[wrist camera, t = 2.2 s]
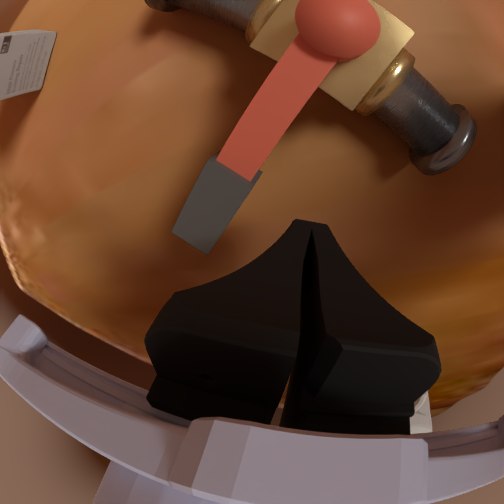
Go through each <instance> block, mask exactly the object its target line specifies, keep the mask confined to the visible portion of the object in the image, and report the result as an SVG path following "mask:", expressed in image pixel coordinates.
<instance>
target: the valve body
mask: <svg viewBox="0 0 504 504" xmlns="http://www.w3.org/2000/svg"><path fill="white" fill-rule="evenodd" d="M299 1H300V0H260V1H259V3H258V4H257V6H256V7H255V9H254V11H253V13H252V15H251V17H250V19H249V21H248V24H247V27H246V32H245V39H246V41H247V42H248V43H250V44H251V45H250V46H249V47H251V48H253V49H255V50H257V51H258V52H260V53H262V54H263V55H265V56H267V57H269V58H270V59H272V60H274V61H276V62H278V61H279V60H280V58H281V57H282V56H283V54H284V53H285V51H286V50H287V49H288V47H289V46H290V45H291V43H292V42H293V41H294V39H295V38H296V37H297V35H298V34H299V31H298V28H297V25H296V21H295V10H296V7H297V4H298V2H299ZM367 1H368V2H369V3H370V4H371V5H372V6H373V7H374V9H375V10H376V12H377V14H378V17H379V20H380V25H381V30H380V35H379V38H378V40H377V42H376V43H375V45H374V46H373V47H372V48H371V49H369V50H368V51H367V52H365V53H364V54H362V55H361V56H360V57H358V58H356V59H354V60H351V61H347V62H336V64H335V65H334V66H333V68H332V69H331V70H330V71H329V73H328V74H327V75H326V77H325V78H324V79H323V81H322V82H321V83H320V85H319V86H318V88H319V89H321V90H322V91H324V92H325V93H327V94H328V95H329V96H331V97H332V98H334V99H335V100H336V101H338V102H339V103H340V104H342V105H343V106H345V107H346V108H348V109H349V110H351V111H353V109H355V110H356V111H357V112H358V113H360V114H361V115H362V116H368V115H370V114H371V113H373V112H374V111H376V110H377V109H378V108H379V107H380V106H382V105H383V104H384V103H385V102H386V101H387V100H388V99H389V98H390V97H391V96H392V95H393V94H394V92H395V91H396V90H397V89H398V88H399V87H400V85H401V84H402V83H403V81H404V80H405V79H406V77H407V76H408V74H409V73H410V71H411V69H412V67H413V65H414V63H415V57H414V56H413V55H412V54H410V53H409V52H408V51H407V50H406V49H405V48H403V47H404V46H405V44H406V43H407V42H408V41H409V39H410V38H411V37H412V36H413V34H414V33H415V32H413V31H412V30H411V29H410V28H409V27H407V26H406V25H405V24H404V23H403V22H401V21H400V20H399V19H397V18H396V17H395V16H393V15H392V14H391V13H389V12H388V11H387V10H385V9H384V8H382V7H381V6H380V5H378V4H377V3H375V2H374V1H372V0H367Z"/></svg>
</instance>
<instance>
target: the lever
mask: <svg viewBox="0 0 504 504" xmlns="http://www.w3.org/2000/svg"><path fill="white" fill-rule="evenodd" d="M295 21H296V25H297V28H298V31H299V34H298V35H297V37H296V38H295V39H294V41H293V42H292V43H291V45H290V46H289V47H288V49H287V50H286V51H285V53H284V54H283V56H282V57H281V58H280V60H279V61H278V63H277V64H276V65H275V67H274V68H273V70H272V71H271V73H270V74H269V75H268V77H267V78H266V80H265V81H264V83H263V84H262V86H261V87H260V89H259V90H258V92H257V93H256V95H255V96H254V98H253V99H252V101H251V103H250V104H249V106H248V107H247V109H246V110H245V112H244V114H243V115H242V117H241V118H240V120H239V122H238V123H237V125H236V126H235V128H234V130H233V131H232V133H231V135H230V136H229V138H228V140H227V141H226V143H225V145H224V147H223V148H222V150H221V151H219V152H218V153H217V154H215V155H214V156H212V157H211V158H210V159H208V161H207V162H206V164H205V166H204V168H203V170H202V172H201V173H200V175H199V177H198V179H197V181H196V183H195V185H194V187H193V189H192V191H191V193H190V195H189V196H188V198H187V200H186V202H185V204H184V206H183V208H182V210H181V213H180V215H179V217H178V219H177V221H176V223H175V225H174V227H173V229H172V231H171V232H172V233H173V234H175V235H176V236H178V237H179V238H181V239H182V240H184V241H186V242H187V243H189V244H190V245H192V246H193V247H195V248H196V249H198V250H200V251H201V252H203V253H204V254H206V255H207V256H208V254H209V253H210V251H211V250H212V248H213V247H214V245H215V244H216V242H217V241H218V239H219V237H220V236H221V234H222V233H223V231H224V230H225V228H226V227H227V225H228V224H229V222H230V221H231V219H232V218H233V216H234V215H235V213H236V212H237V210H238V209H239V207H240V206H241V204H242V203H243V201H244V200H245V198H246V197H247V196H248V194H249V193H250V191H251V190H252V188H253V187H254V185H255V183H256V182H257V180H258V179H259V177H260V175H261V174H262V171H260V170H259V168H260V167H261V166H262V164H263V163H264V161H265V160H266V158H267V157H268V155H269V154H270V152H271V151H272V150H273V148H274V147H275V145H276V144H277V142H278V141H279V140H280V138H281V137H282V135H283V134H284V133H285V131H286V130H287V128H288V127H289V126H290V124H291V123H292V121H293V120H294V119H295V117H296V116H297V114H298V113H299V112H300V110H301V109H302V108H303V106H304V105H305V103H306V102H307V101H308V99H309V98H310V97H311V95H312V94H313V93H314V91H315V90H316V89H317V87H318V86H319V85H320V83H321V82H322V81H323V79H324V78H325V77H326V75H327V74H328V73H329V71H330V70H331V69H332V68H333V66H334V65H335V64H336V62H347V61H351V60H354V59H356V58H358V57H360V56H361V55H362V54H364V53H365V52H367V51H368V50H369V49H371V48H372V47H373V46H374V45H375V43H376V42H377V40H378V38H379V35H380V30H381V25H380V20H379V17H378V14H377V12H376V10H375V9H374V7H373V6H372V5H371V4H370V3H369V2H368V1H367V0H300V1H299V2H298V4H297V7H296V10H295Z"/></svg>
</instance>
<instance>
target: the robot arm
mask: <svg viewBox="0 0 504 504" xmlns="http://www.w3.org/2000/svg"><path fill="white" fill-rule="evenodd" d="M144 342H145V346H146V350H147V352H148V355H149V357H150V359H151V362H152V364H153V366H154V368H155V371H156V373H157V376H156V378H155V380H154V382H153V384H152V386H151V388H150V390H149V391H147V390H145V389H142V388H140V387H137V386H135V385H133V384H130V383H128V382H126V381H123V380H121V379H119V378H117V377H115V376H112V375H110V374H108V373H106V372H104V371H101V370H100V369H98V368H96V367H94V366H92V365H90V364H88V363H86V362H84V361H82V360H80V359H78V358H77V357H75V356H73V355H71V354H69V353H68V352H66V351H64V350H63V349H61V348H59V347H57V346H56V345H54V344H53V343H51V342H49V341H48V338H47V337H46V335H45V333H44V332H43V331H42V329H41V328H40V327H39V326H38V325H37V324H35V323H34V322H32V321H31V320H29V319H28V318H26V317H25V316H23V315H19V316H18V317H17V318H16V319H15V321H14V322H13V323H12V325H11V326H10V327H9V328H8V330H7V331H6V332H5V333H4V335H3V336H2V337H1V339H0V377H1V378H3V380H4V381H5V382H6V383H7V384H8V385H9V386H10V387H11V388H13V389H14V390H15V391H16V392H17V393H18V394H19V395H20V396H21V397H22V398H23V399H24V400H26V401H27V402H28V403H29V404H30V405H31V406H33V407H34V408H35V409H36V410H37V411H39V412H40V413H41V414H42V415H43V416H45V417H46V418H47V419H49V420H50V421H51V422H53V423H54V424H55V425H57V426H58V427H59V428H61V429H62V430H64V431H65V432H67V433H68V434H69V435H71V436H72V437H74V438H75V439H77V440H78V441H80V442H81V443H83V444H85V445H86V446H88V447H90V448H91V449H93V450H94V451H96V452H98V453H100V454H101V455H103V456H105V457H107V458H109V459H110V460H111V462H110V464H109V466H108V468H107V471H106V473H105V475H104V477H103V480H102V482H101V484H100V486H99V489H98V491H97V493H96V496H95V498H94V500H93V503H92V504H430V503H434V502H437V501H441V500H445V499H448V498H451V497H454V496H458V495H460V494H464V493H466V492H469V491H472V490H475V489H477V488H480V487H482V486H485V485H487V484H489V483H492V482H494V481H496V480H498V479H501V478H503V477H504V415H503V416H502V417H501V418H499V420H498V421H494V422H490V423H486V424H481V425H476V426H471V427H466V428H460V429H453V430H446V431H438V432H429V433H417V434H410V417H412V416H414V413H415V408H414V402H415V401H416V400H418V399H419V398H420V397H421V396H422V395H423V394H424V393H425V392H426V391H428V390H429V389H430V388H431V387H432V385H433V384H434V383H435V382H436V381H437V379H438V378H439V375H440V373H441V363H440V358H439V354H438V349H437V346H436V342H435V339H434V336H432V335H431V334H430V333H428V332H427V331H425V330H424V329H422V328H421V327H419V326H418V325H416V324H415V323H413V322H411V321H410V320H409V319H407V318H406V317H405V316H404V315H402V314H401V313H400V312H399V311H397V310H396V309H395V308H394V307H392V306H391V305H390V304H389V303H388V302H387V301H386V300H384V299H383V298H382V297H381V296H380V295H379V294H378V293H377V292H376V291H375V290H374V289H373V288H372V287H371V286H370V285H369V284H368V283H367V282H366V280H365V279H364V278H363V277H362V276H361V275H360V274H359V273H358V271H357V270H356V269H355V268H354V266H353V265H352V263H351V262H350V261H349V259H348V258H347V257H346V255H345V254H344V252H343V251H342V249H341V247H340V246H339V244H338V243H337V241H336V239H335V237H334V236H333V234H332V232H331V230H330V229H329V227H328V225H327V224H321V223H316V222H310V221H305V220H299V219H295V220H294V221H292V223H291V225H290V226H289V228H288V229H287V230H286V232H285V233H284V234H283V235H282V236H281V237H280V238H279V239H278V240H277V241H276V242H275V243H274V244H273V245H272V246H271V247H270V248H269V249H267V250H266V251H265V252H264V253H263V254H261V255H260V256H259V257H257V258H256V259H255V260H253V261H252V262H250V263H249V264H247V265H245V266H244V267H242V268H240V269H238V270H237V271H235V272H233V273H231V274H229V275H226V276H224V277H222V278H220V279H217V280H214V281H212V282H209V283H206V284H203V285H200V286H197V287H193V288H190V289H186V290H183V291H179V292H175V293H174V294H173V295H172V297H171V298H170V299H169V300H168V302H167V303H166V304H165V305H164V307H163V308H162V309H161V311H160V312H159V314H158V315H157V317H156V319H155V320H154V322H153V324H152V325H151V327H150V328H149V330H148V332H147V334H146V337H145V340H144ZM290 373H291V375H290ZM289 376H290V380H289V385H288V390H287V395H286V399H285V404H284V408H283V413H282V417H281V421H280V425H279V427H278V426H272V425H270V423H271V420H272V417H273V415H274V413H275V410H276V408H277V407H278V405H279V402H280V400H281V397H282V394H283V392H284V389H285V387H286V384H287V381H288V379H289Z"/></svg>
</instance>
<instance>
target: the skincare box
mask: <svg viewBox="0 0 504 504" xmlns="http://www.w3.org/2000/svg"><path fill="white" fill-rule="evenodd" d="M55 39H56V32H52V31H44V30H25V31H15V32H7V33H1V34H0V101H2V100H5V99H8V98H11V97H15V96H18V95H22V94H25V93H29V92H33V91H38V90H40V89H41V88H42V85H43V81H44V76H45V73H46V69H47V66H48V62H49V58H50V55H51V51H52V48H53V45H54V42H55Z"/></svg>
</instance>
